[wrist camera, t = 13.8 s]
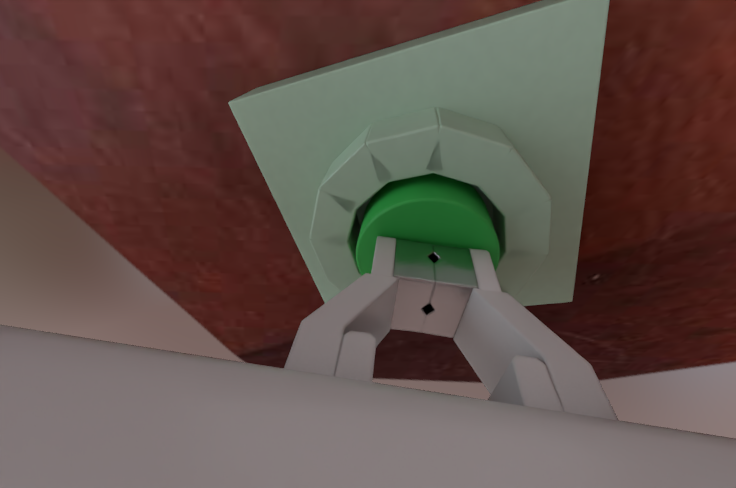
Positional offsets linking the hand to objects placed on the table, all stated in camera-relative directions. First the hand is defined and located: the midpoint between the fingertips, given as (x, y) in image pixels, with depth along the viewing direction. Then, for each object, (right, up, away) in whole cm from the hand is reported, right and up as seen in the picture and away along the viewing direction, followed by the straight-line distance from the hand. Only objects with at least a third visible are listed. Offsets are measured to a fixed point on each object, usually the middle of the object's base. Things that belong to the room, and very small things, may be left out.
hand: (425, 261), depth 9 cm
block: (0, +3, +4) cm, 5 cm away
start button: (0, +1, +1) cm, 2 cm away
